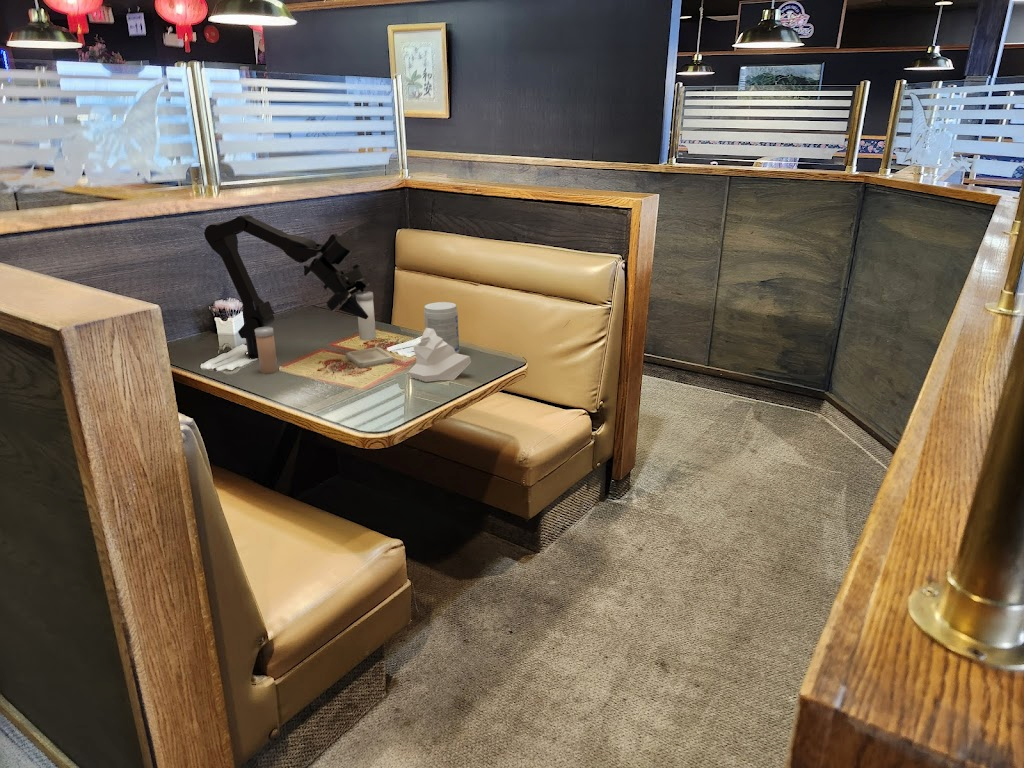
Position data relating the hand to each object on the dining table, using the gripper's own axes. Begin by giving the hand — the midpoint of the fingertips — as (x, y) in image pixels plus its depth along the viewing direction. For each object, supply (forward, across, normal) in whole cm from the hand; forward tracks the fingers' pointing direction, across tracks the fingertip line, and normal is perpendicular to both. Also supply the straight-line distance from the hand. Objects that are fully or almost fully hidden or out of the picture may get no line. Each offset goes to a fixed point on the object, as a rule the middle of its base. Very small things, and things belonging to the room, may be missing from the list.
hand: (370, 315), depth 203 cm
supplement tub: (+22, +8, -4) cm, 24 cm away
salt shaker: (+4, 0, +6) cm, 7 cm away
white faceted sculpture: (+25, -10, -6) cm, 27 cm away
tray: (+8, 0, +10) cm, 13 cm away
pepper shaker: (-8, -14, +27) cm, 32 cm away
